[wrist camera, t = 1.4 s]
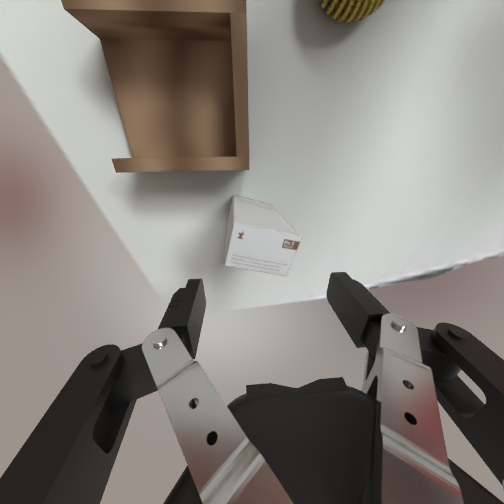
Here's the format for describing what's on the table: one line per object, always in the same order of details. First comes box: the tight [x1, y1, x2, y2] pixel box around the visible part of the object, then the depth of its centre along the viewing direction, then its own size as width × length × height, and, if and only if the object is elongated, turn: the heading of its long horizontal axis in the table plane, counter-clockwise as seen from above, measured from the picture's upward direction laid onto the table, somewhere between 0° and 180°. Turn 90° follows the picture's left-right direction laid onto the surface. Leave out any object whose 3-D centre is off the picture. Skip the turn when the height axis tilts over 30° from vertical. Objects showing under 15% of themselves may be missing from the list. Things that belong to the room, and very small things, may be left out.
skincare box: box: [224, 196, 302, 276], centre depth 21 cm, size 6×4×12 cm
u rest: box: [61, 0, 249, 173], centre depth 18 cm, size 13×12×5 cm
